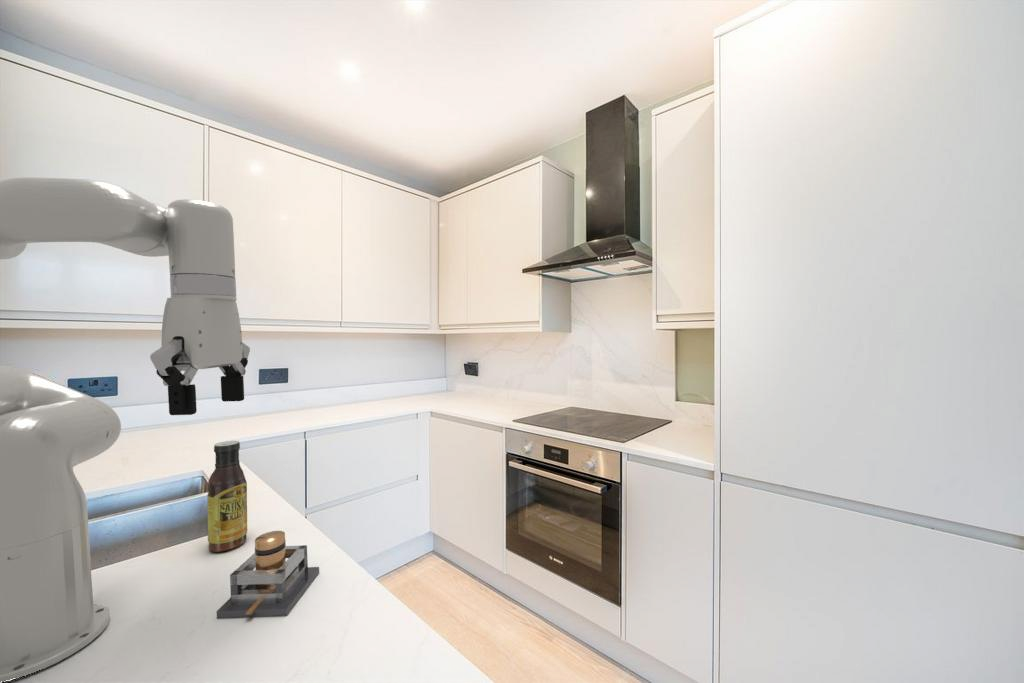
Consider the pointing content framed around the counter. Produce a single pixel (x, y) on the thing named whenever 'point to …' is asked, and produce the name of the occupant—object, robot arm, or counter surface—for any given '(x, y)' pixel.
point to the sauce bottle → (227, 499)
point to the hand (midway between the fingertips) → (210, 407)
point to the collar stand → (271, 601)
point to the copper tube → (269, 554)
